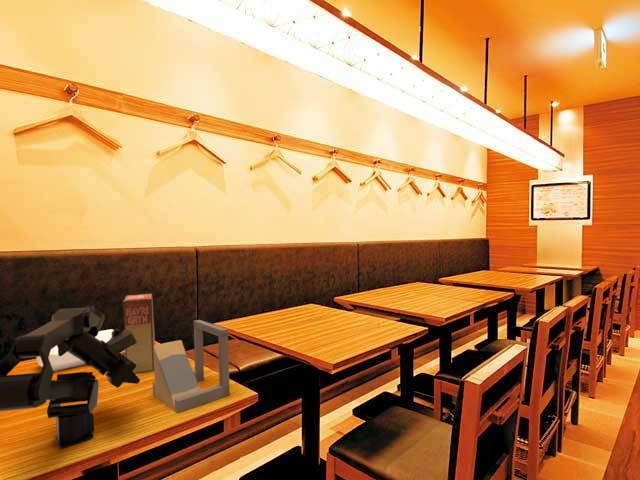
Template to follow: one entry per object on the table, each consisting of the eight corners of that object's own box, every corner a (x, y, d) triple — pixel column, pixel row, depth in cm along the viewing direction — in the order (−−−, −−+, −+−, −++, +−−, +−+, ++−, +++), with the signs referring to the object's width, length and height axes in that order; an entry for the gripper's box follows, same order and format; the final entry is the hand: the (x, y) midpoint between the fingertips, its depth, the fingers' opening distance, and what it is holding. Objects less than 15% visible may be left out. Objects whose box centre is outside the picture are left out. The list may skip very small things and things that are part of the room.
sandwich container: (176, 414, 98) (174, 357, 98) (154, 396, 109) (152, 345, 109) (207, 403, 104) (205, 349, 104) (182, 388, 115) (181, 339, 115)
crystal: (130, 332, 145) (40, 348, 126) (131, 357, 145) (41, 377, 126) (119, 326, 156) (34, 340, 137) (120, 349, 156) (35, 366, 137)
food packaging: (127, 363, 138) (125, 295, 137) (155, 359, 141) (153, 293, 141) (124, 375, 125) (122, 300, 125) (155, 371, 129) (153, 298, 129)
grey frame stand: (177, 412, 98) (175, 340, 98) (153, 392, 111) (151, 328, 111) (229, 395, 108) (227, 329, 108) (201, 378, 121) (199, 319, 121)
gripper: (125, 328, 89) (173, 363, 97) (104, 317, 103) (148, 348, 111) (88, 370, 84) (142, 403, 92) (71, 352, 98) (119, 382, 105)
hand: (138, 381), depth 100 cm, fingers closed
